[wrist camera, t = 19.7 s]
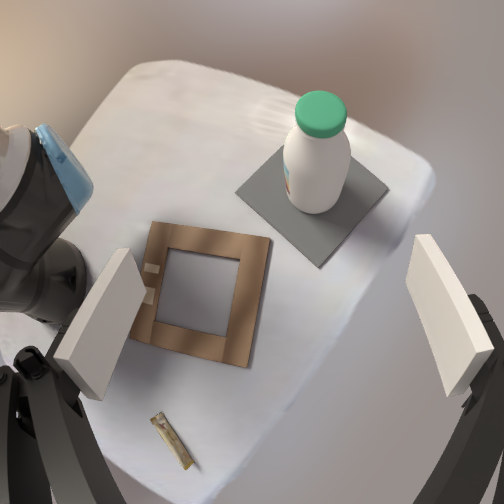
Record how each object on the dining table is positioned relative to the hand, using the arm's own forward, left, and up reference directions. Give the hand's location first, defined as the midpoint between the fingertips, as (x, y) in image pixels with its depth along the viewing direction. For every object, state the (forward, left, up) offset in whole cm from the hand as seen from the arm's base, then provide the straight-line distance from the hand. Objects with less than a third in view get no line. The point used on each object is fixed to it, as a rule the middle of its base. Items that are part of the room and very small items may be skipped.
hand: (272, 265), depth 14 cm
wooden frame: (-9, -8, -29) cm, 32 cm away
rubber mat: (-7, +14, -29) cm, 33 cm away
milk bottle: (-7, +13, -29) cm, 33 cm away
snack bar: (+4, -27, -30) cm, 41 cm away
